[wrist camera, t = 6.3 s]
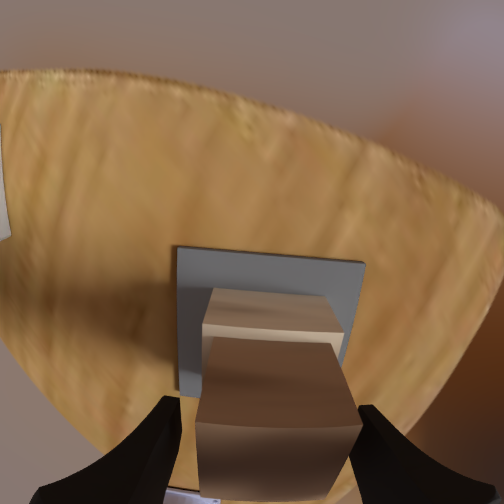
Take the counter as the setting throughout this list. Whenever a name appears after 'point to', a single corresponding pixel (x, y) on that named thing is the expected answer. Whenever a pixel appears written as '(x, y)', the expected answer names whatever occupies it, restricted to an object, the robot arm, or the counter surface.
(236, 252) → the mat
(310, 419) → the walnut block
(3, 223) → the small box
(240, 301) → the maple block
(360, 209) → the counter surface
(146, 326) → the counter surface
